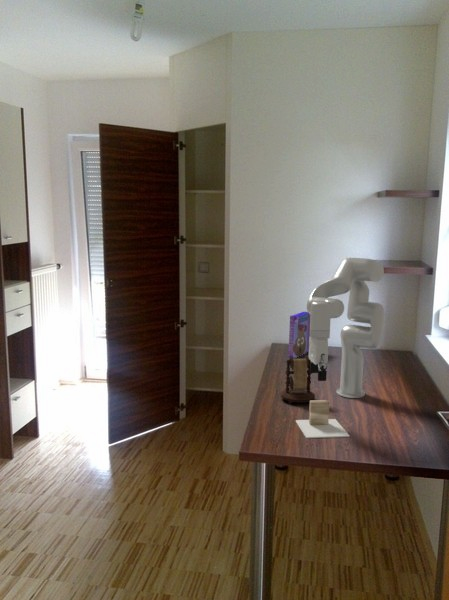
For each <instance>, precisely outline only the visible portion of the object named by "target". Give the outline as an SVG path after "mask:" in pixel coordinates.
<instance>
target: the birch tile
mask: <svg viewBox="0 0 449 600" xmlns="http://www.w3.org/2000/svg"><path fill="white" fill-rule="evenodd" d="M308 410H309V411H308V412H309V413H308V420H309V424H310V425H328V422H329V419H330V418H329V417H330V401H329V400H328V399H319V400H318V399H317V400H315V399H314V400H310V402H309V409H308Z"/></svg>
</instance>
